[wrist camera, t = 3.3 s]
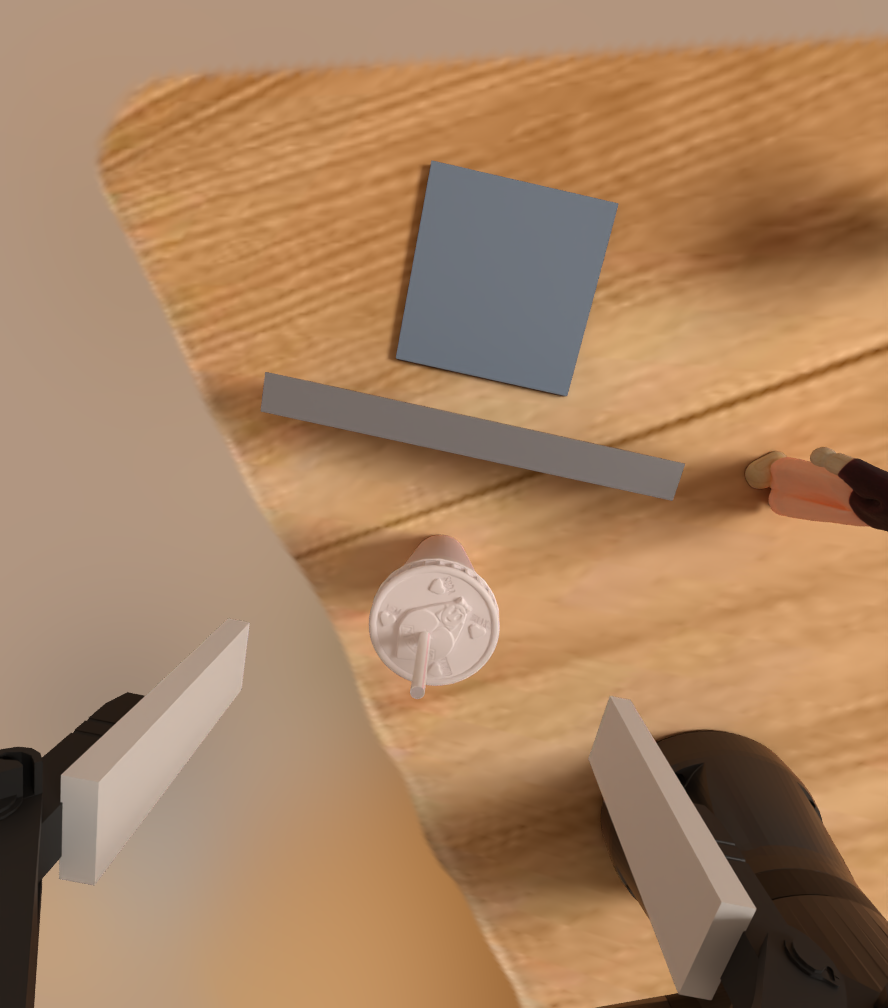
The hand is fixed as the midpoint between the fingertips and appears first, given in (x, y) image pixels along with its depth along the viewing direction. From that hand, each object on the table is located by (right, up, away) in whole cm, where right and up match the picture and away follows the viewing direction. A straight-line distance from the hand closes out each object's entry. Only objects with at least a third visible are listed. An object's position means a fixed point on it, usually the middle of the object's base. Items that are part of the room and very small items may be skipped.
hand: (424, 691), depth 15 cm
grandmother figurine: (+23, +8, +13) cm, 28 cm away
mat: (+4, +20, +11) cm, 23 cm away
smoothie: (0, +3, +15) cm, 15 cm away
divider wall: (+2, +11, +13) cm, 17 cm away
